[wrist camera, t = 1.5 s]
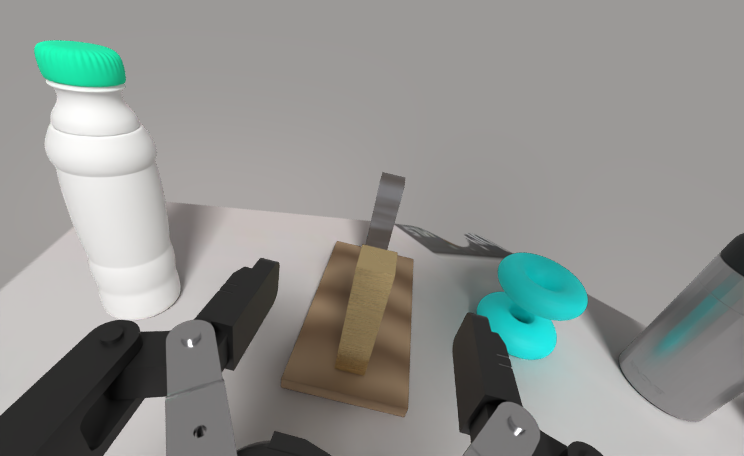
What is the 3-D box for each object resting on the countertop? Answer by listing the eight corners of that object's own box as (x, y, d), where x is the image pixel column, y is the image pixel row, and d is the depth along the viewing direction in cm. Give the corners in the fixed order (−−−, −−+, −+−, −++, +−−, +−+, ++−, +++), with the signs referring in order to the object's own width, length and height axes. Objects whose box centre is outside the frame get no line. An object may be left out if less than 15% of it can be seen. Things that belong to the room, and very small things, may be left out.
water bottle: (86, 311, 33) (-30, 32, 20) (142, 270, 39) (83, 34, 26) (147, 332, 32) (70, 59, 19) (195, 287, 38) (162, 54, 25)
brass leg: (364, 375, 31) (394, 275, 24) (334, 368, 31) (356, 266, 24) (368, 349, 34) (397, 252, 27) (340, 343, 34) (362, 244, 27)
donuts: (609, 318, 33) (512, 291, 33) (559, 375, 38) (476, 351, 38) (575, 260, 41) (498, 239, 42) (538, 313, 46) (470, 294, 47)
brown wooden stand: (404, 417, 30) (454, 312, 22) (280, 387, 30) (288, 272, 23) (410, 266, 50) (439, 182, 42) (335, 248, 50) (350, 161, 42)
